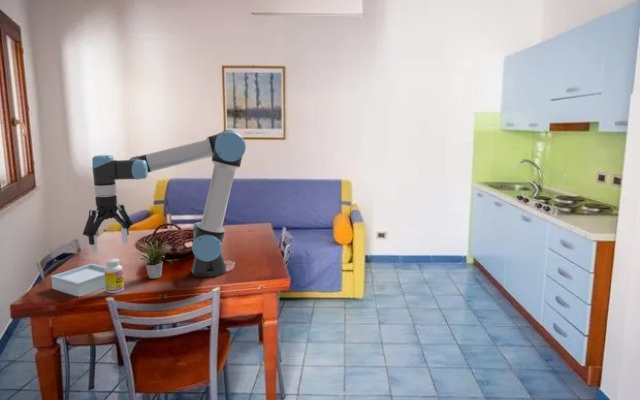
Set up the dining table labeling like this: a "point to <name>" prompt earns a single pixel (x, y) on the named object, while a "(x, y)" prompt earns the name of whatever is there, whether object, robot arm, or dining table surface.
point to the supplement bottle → (114, 276)
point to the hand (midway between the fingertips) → (110, 247)
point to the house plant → (154, 260)
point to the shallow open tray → (80, 280)
